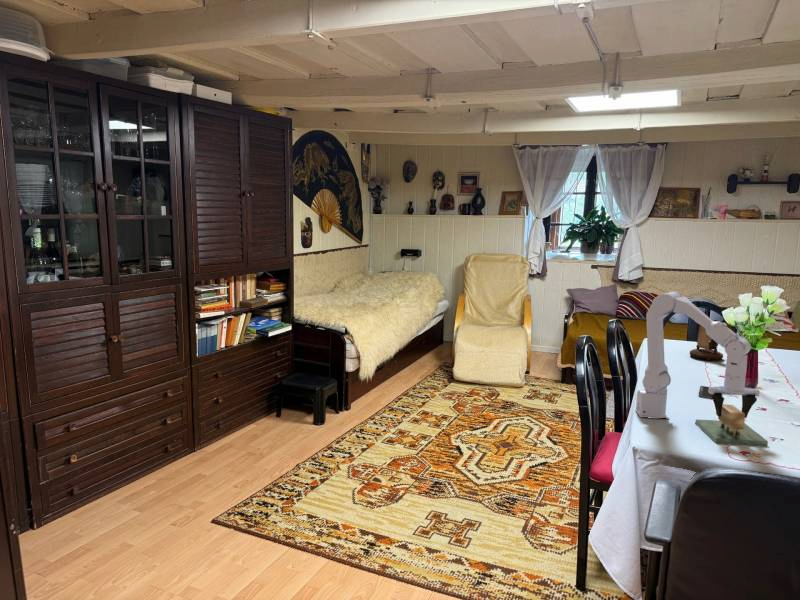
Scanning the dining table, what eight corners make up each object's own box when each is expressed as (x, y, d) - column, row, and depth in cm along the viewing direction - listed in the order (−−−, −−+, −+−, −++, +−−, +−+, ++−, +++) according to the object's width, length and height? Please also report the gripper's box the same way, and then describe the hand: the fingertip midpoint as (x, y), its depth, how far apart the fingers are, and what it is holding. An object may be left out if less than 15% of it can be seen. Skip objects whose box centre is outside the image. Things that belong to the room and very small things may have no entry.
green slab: (715, 442, 178) (716, 432, 177) (695, 423, 195) (696, 413, 194) (767, 445, 176) (768, 435, 175) (742, 426, 193) (743, 416, 192)
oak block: (730, 428, 181) (731, 413, 180) (718, 418, 189) (719, 404, 189) (743, 429, 180) (745, 414, 179) (731, 419, 189) (732, 404, 188)
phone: (698, 395, 223) (700, 385, 236) (698, 398, 224) (700, 388, 236) (721, 398, 220) (722, 388, 232) (721, 401, 220) (722, 391, 233)
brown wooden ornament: (682, 356, 290) (686, 317, 287) (702, 353, 296) (706, 315, 293) (709, 363, 276) (712, 322, 273) (729, 360, 282) (733, 320, 280)
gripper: (716, 377, 179) (712, 419, 181) (765, 379, 178) (761, 421, 180) (707, 371, 186) (703, 411, 188) (755, 373, 184) (750, 414, 186)
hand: (731, 416), depth 184 cm, fingers open, 7 cm apart
